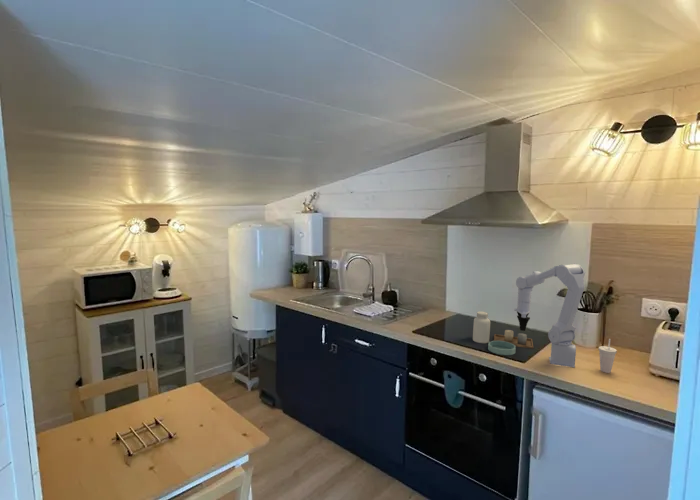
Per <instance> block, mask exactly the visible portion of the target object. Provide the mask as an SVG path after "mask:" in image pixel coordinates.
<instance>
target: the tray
mask: <svg viewBox="0 0 700 500" xmlns="http://www.w3.org/2000/svg"><path fill="white" fill-rule="evenodd" d="M504 339H505V334H504V335H503V334H496V333H494V335H493V341H505V340H504ZM517 341H518V336H513V342H509V343H512V344H513V345H515V346H516V347H517V348H525V349H526V348H527V349H534V343H533V338H528V337H527V340H526V345H519V344H517ZM505 342H506V341H505Z"/></svg>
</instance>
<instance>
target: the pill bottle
mask: <svg viewBox="0 0 700 500" xmlns="http://www.w3.org/2000/svg"><path fill="white" fill-rule="evenodd" d="M472 328H473V329H472V341H474V342H475V343H478V344H487V343H489V342H490V335H491V334H490V332H491V320H490V318H489V313H488V312H486V311H482V310H481V311H477V312H476V317H474V319H473V327H472Z"/></svg>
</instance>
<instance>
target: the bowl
mask: <svg viewBox="0 0 700 500" xmlns="http://www.w3.org/2000/svg"><path fill="white" fill-rule="evenodd" d="M516 349H517V348H516V346H515V345H513V344H512V343H509V342H505V341H494V340H492V341H489V342H488V345H487V350H488V351H489V352H491V353H493V354H495V355H502V356H512V355H514V354H516Z"/></svg>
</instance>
